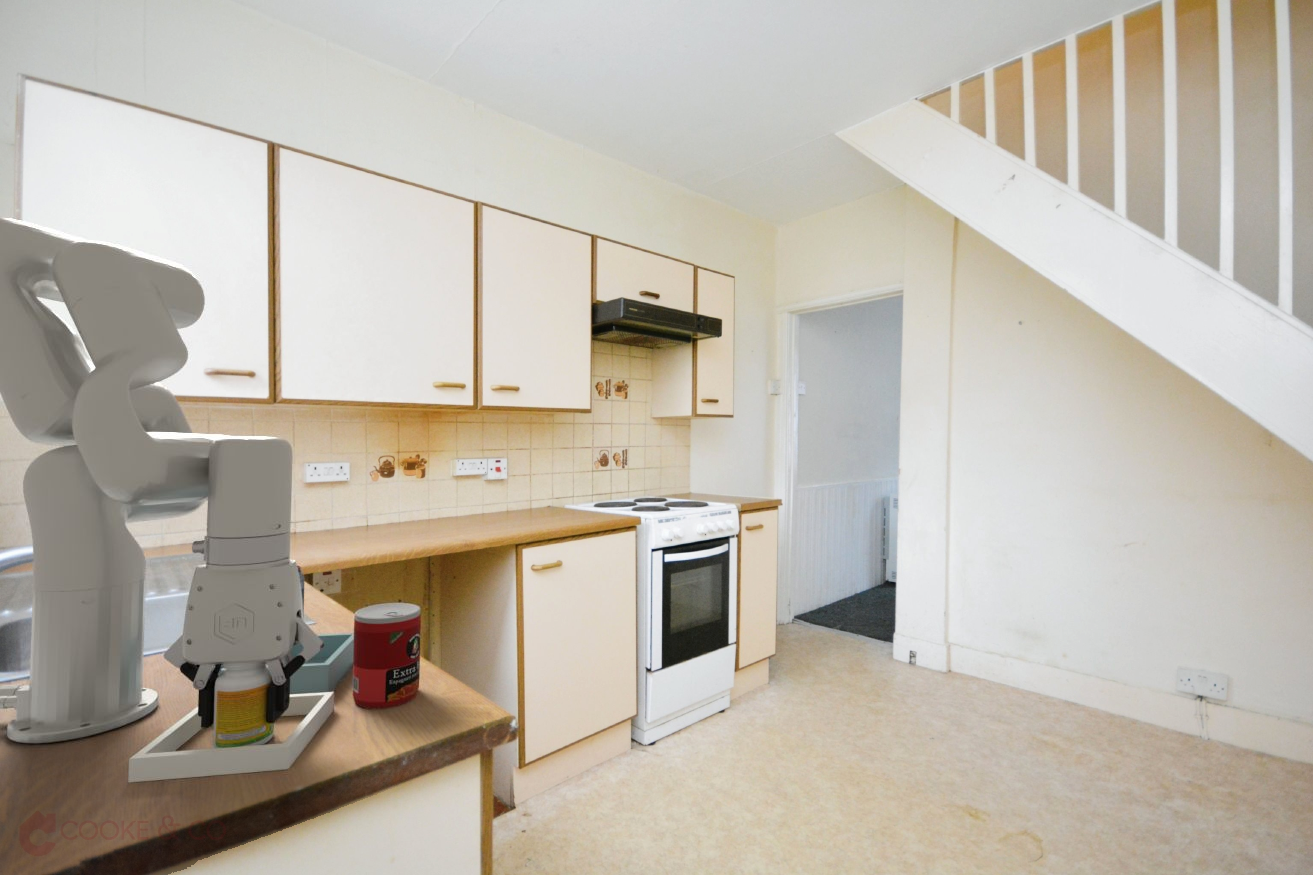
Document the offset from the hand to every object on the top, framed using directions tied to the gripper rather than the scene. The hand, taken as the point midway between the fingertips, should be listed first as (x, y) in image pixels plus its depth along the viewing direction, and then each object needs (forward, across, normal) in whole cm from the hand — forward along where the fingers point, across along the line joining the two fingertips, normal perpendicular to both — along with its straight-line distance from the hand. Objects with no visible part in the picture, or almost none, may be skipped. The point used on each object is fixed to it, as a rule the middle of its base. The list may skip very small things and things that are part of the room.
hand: (244, 718), depth 64 cm
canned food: (+3, +12, +10) cm, 16 cm away
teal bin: (+2, -2, +18) cm, 18 cm away
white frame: (+2, 0, 0) cm, 2 cm away
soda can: (+3, -10, +35) cm, 37 cm away
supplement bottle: (+3, 0, 0) cm, 3 cm away
